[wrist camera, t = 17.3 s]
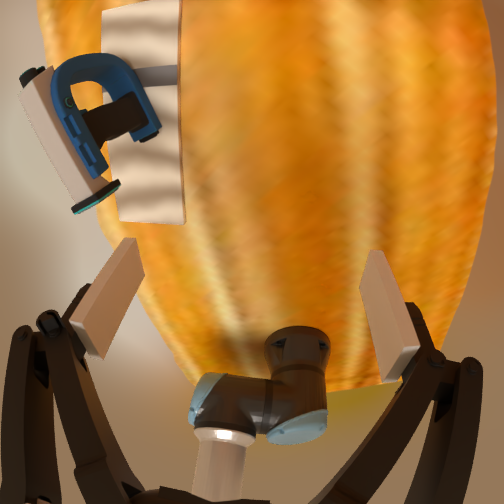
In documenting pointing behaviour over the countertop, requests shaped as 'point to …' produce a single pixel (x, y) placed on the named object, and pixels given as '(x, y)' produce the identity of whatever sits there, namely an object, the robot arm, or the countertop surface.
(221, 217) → the countertop surface
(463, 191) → the countertop surface
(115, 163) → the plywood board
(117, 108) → the handheld scanner
